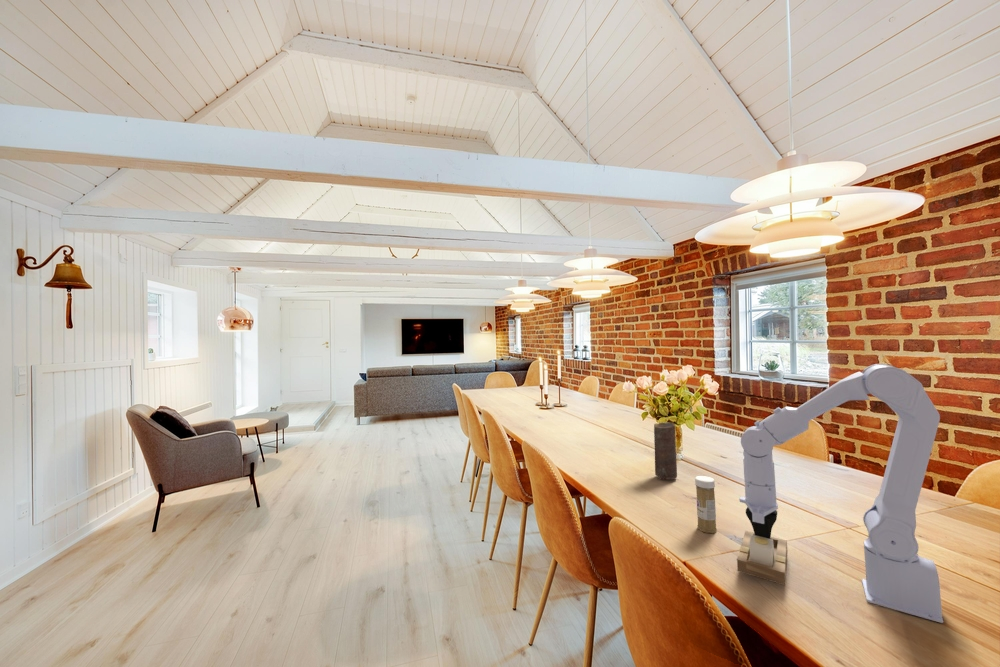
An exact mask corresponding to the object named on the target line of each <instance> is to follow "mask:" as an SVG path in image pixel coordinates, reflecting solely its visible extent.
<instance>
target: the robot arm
mask: <svg viewBox="0 0 1000 667" xmlns="http://www.w3.org/2000/svg"><path fill="white" fill-rule="evenodd" d="M869 395H871V396H873V397H875V398H877V399H878V400H879V401H881V402H883V403H885V404H886V405H887V406H888V407H889V408H890V409H891V410H892V411H893V412H894V413H895V414H896V415H897V416H898V420H897V423H896V427H895V428H896V429H895V432H894V436H893V440H892V444H891V447H890V449H889V450H890V451H889V455H888V459H887V462H886V466H885V470H884V474H883V478H882V483H881V486H880V490H879V493H878V494H877V496H876V497H875V499H874V502H873V504H872V506H871V507H870V508H869V509H867V510H866V511H865V512H864V514H863V517H862V518H863V519H862V521H863V524H864V526H865V528H866V531H867V534H868V537H867V538H866V539H864V541H863V552H864V554H863V555H864V565H865V566H864V567H865V578H861V582H862V586H863V591H864V595H865V599H866V602H868V603H870V604H875V605H878V606H880V607H884V608H888V609H891V610H895V611H898V612H901V613H906V614H909V615H911V616H916V617H919V618H922V619H926V620H929V621H933V622H938V623H940V624H943V623H944V620H943V613H942V612H943V611H942V600H941V599H942V597H941V596H942V595H941V586H940V579H939V573H938V569H937V566H936V564H935V562H934V561H933V559H928V558H925V557H923V556H919V554H918V553H919V543H918V541H917V539H916V535H915V534H916V533H915V532H916V529H917V519H916V518H917V517H916V509H917V505H918V502H919V499H920V498H919V497H920V495H921V491H922V487H923V484H924V480H925V475H926V473H927V468H928V465H929V461H930V457H931V454H932V449H933V446H934V443H935V439H936V435H937V432H938V427H939V424H940V420H941V415H940V413H939V411H938V409H937V408H936V406H935V405H934V403H933V401H932V400H931V399H930V397H929V395H928V394H927V392H926V390H925V388H924V386H923V383H922V382H920V381H919V380H918V379H916V377H914V376H913V375H911V374H910V373H909V372H907V371H906V370H905V369H902V368H900V367H899V368H898V367H895V366H893V365H891V364H888V363H887V364H885V363H875V364H871V365H869V366H867V367H866V368H864V369H863V370H862V371H857V372H855V373H852V374H850V375H848V376H846V377H844V378H842V379H840V380H839V381H837V382H836V383H834V384H832V385H831V386H829V387H827V388H825V389H824V390H823V391H821V392H820V393H818V394H817V395H815V396H813V397H812V398H811V399H809V400H807V401H805V402H804V403H803V404H801V405H800V406H798V407H792V406H784V407H783V408H780V407H779V406H778V407H776V408H775V409H773V414H771V415H769V416H768V417H766V418H765V419H763V420H761V421H760V420H757V421H755V422H754V425H753V426H750V427H748V428H746V429H745V430H744V432H743V433H742V435H741V436H740V444H741V447H742V449H743V477H744V478H743V479H744V492H745V493H744V494H745V496H739V499H738V500H739V502H740V503H741V504H742V503H743V504H745V506H746V509H745V515H746V517H747V518H748V521H749V522H750V524H751V526H752V529H753V533H754V534H755V536H760V537H764V538H768V539H770V537H772V530H773V526H774V525H775V523H776V521H777V518H778V511H777V510H778V509H779V507H778V506H779V504H778V502H777V489H776V488H777V487H776V475H775V474H776V472H775V471H776V470H775V463H774V460H773V449H774V446H781V445H783V444H785V443H786V442H788V441H790V440H792V439H794V438H796V437H797V436H799V435H801V434H803V433H804V432H806V431H809V426H810V424H809V423H810V421H812V420H813V419H815V418H817V417H819V416H821V415H823V414H825V413H827V412H828V411H831V410H833V409H834V408H836V407H838V406H840V405H842V404H844V403H846V402H849V401H870V397H869Z"/></svg>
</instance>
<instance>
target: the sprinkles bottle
mask: <svg viewBox="0 0 1000 667" xmlns="http://www.w3.org/2000/svg"><path fill="white" fill-rule="evenodd" d="M715 482H716V481H715V479H714V478H712V477H710V476H707V475H706V476H705V475H697V476H695V478H694V485H695V488H696V515H697V516H696V517H697V529H698V530H699V531H701V532H703V533H706V534H707V533H708V534H713V533H716V532H717V530H718V529H717V519H716V518H717V514H716V512H717V511H716V509H717V508H716V497H715V494H716V493H715V487H716V484H715Z"/></svg>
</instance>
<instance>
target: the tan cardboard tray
mask: <svg viewBox="0 0 1000 667" xmlns="http://www.w3.org/2000/svg"><path fill="white" fill-rule="evenodd" d="M751 535H755V534H754V531H753V532H752V531H748V530H745V531H744V535H743V538H742V542H741V545H740V547H739V551H738V555H737V558H736V563H737V572H740V573H743V574H746V575H749V576H754V577H757V578H761V579H763V580H767V581H770V582H773V583H774V582H775V583H777V584H780V585H786V580H787V579H786V578H787V565H788V540H786V539H784V538H783V539H782V538H779V537H774V536H771V537H770V539H772V540H773V545H774V565H773V567H771V566H768V565H764V564H760V563H757V562H753V561H750V549H749V543H750V539H751Z"/></svg>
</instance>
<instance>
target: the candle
mask: <svg viewBox="0 0 1000 667" xmlns="http://www.w3.org/2000/svg"><path fill="white" fill-rule="evenodd" d="M653 433H654V434H653V436H654V440H653V441H654V442H653V443H654V475H655V476H656V477H658V479H660V480H674V479H677V478H678V468H677V467H678V462H677V443H676V442H677V441H676V438H677V437H676V424H675V423H673V422H668V421H665V422H659V423H654V424H653Z"/></svg>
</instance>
